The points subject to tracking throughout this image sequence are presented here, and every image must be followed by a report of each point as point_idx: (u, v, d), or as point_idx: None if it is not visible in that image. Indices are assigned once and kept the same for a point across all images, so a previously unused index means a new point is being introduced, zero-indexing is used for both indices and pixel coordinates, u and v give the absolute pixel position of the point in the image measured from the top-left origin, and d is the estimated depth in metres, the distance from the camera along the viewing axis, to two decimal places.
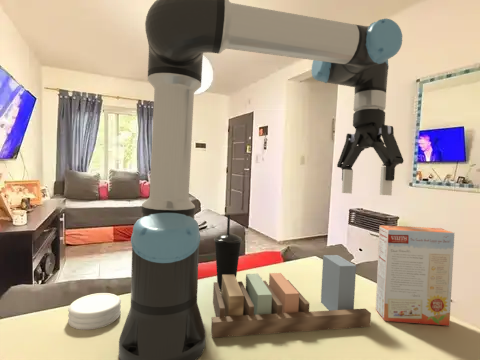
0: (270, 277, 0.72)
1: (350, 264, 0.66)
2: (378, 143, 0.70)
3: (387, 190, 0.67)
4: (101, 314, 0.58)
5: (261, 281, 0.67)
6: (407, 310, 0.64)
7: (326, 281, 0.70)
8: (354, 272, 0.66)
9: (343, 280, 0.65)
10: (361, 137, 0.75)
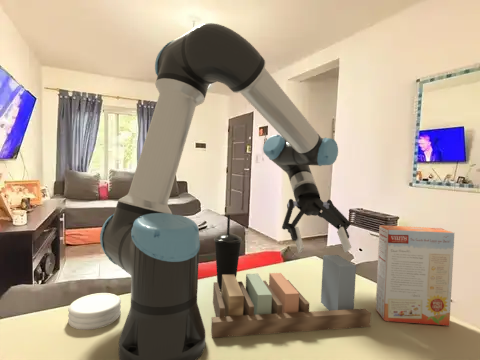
0: (270, 277, 0.72)
1: (350, 264, 0.66)
2: None
3: None
4: (101, 314, 0.58)
5: (261, 281, 0.67)
6: (407, 310, 0.64)
7: (326, 281, 0.70)
8: (354, 272, 0.66)
9: (343, 280, 0.65)
10: (309, 204, 0.86)
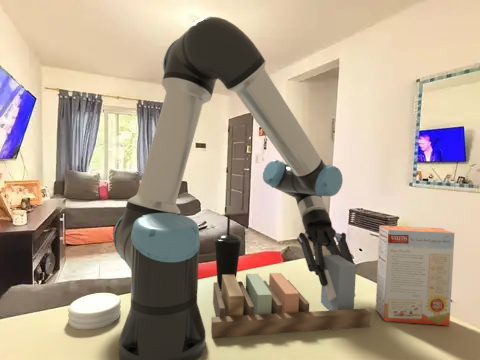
0: (270, 277, 0.72)
1: (350, 264, 0.66)
2: None
3: None
4: (101, 314, 0.58)
5: (261, 281, 0.67)
6: (407, 310, 0.64)
7: None
8: (354, 272, 0.66)
9: (343, 280, 0.65)
10: None
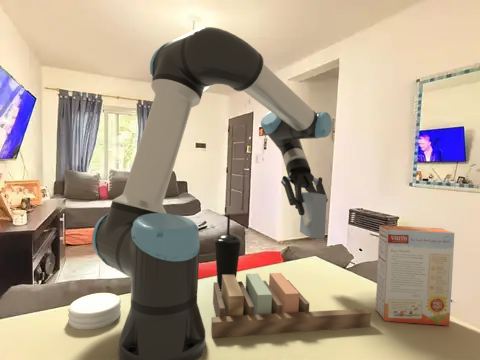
0: (270, 277, 0.72)
1: (322, 194, 0.81)
2: None
3: None
4: (101, 314, 0.58)
5: (261, 281, 0.67)
6: (407, 310, 0.64)
7: None
8: (325, 200, 0.80)
9: (315, 207, 0.80)
10: (300, 176, 0.92)
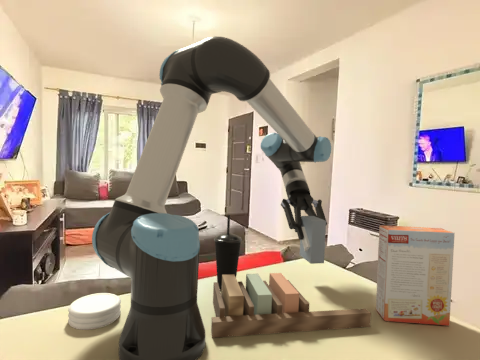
0: (270, 277, 0.72)
1: (321, 220, 0.82)
2: None
3: None
4: (101, 314, 0.58)
5: (261, 281, 0.67)
6: (407, 310, 0.64)
7: None
8: (324, 226, 0.81)
9: (315, 233, 0.80)
10: None
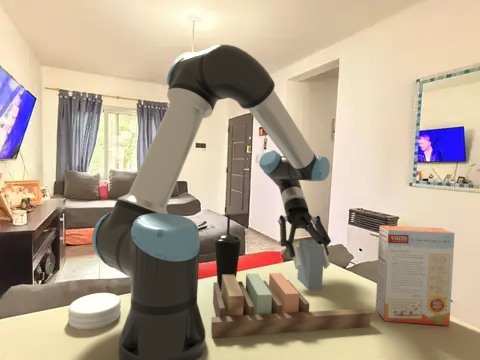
0: (270, 277, 0.72)
1: (319, 246, 0.82)
2: None
3: None
4: (101, 314, 0.58)
5: (261, 281, 0.67)
6: (407, 310, 0.64)
7: (301, 261, 0.86)
8: (322, 252, 0.81)
9: (313, 259, 0.80)
10: (298, 217, 0.92)
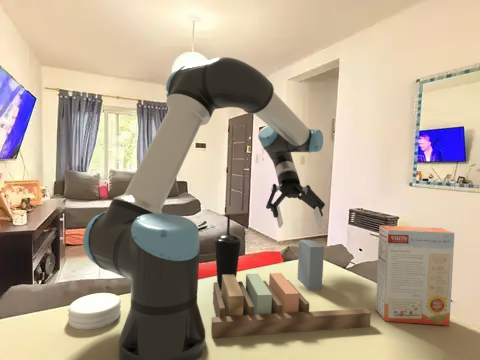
0: (270, 277, 0.72)
1: (319, 246, 0.81)
2: None
3: None
4: (101, 314, 0.58)
5: (261, 281, 0.67)
6: (407, 310, 0.64)
7: (301, 261, 0.86)
8: (322, 252, 0.81)
9: (313, 259, 0.80)
10: (290, 188, 1.01)
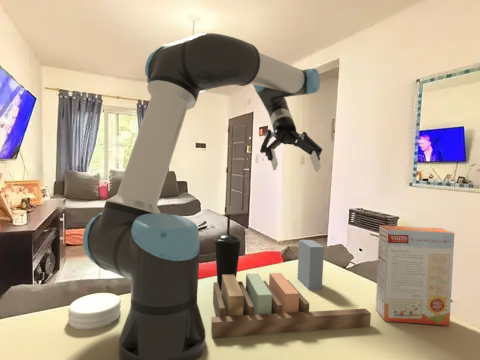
0: (270, 277, 0.72)
1: (319, 246, 0.81)
2: None
3: None
4: (101, 314, 0.58)
5: (261, 281, 0.67)
6: (407, 310, 0.64)
7: (301, 261, 0.86)
8: (322, 252, 0.81)
9: (313, 259, 0.80)
10: (286, 133, 0.96)
